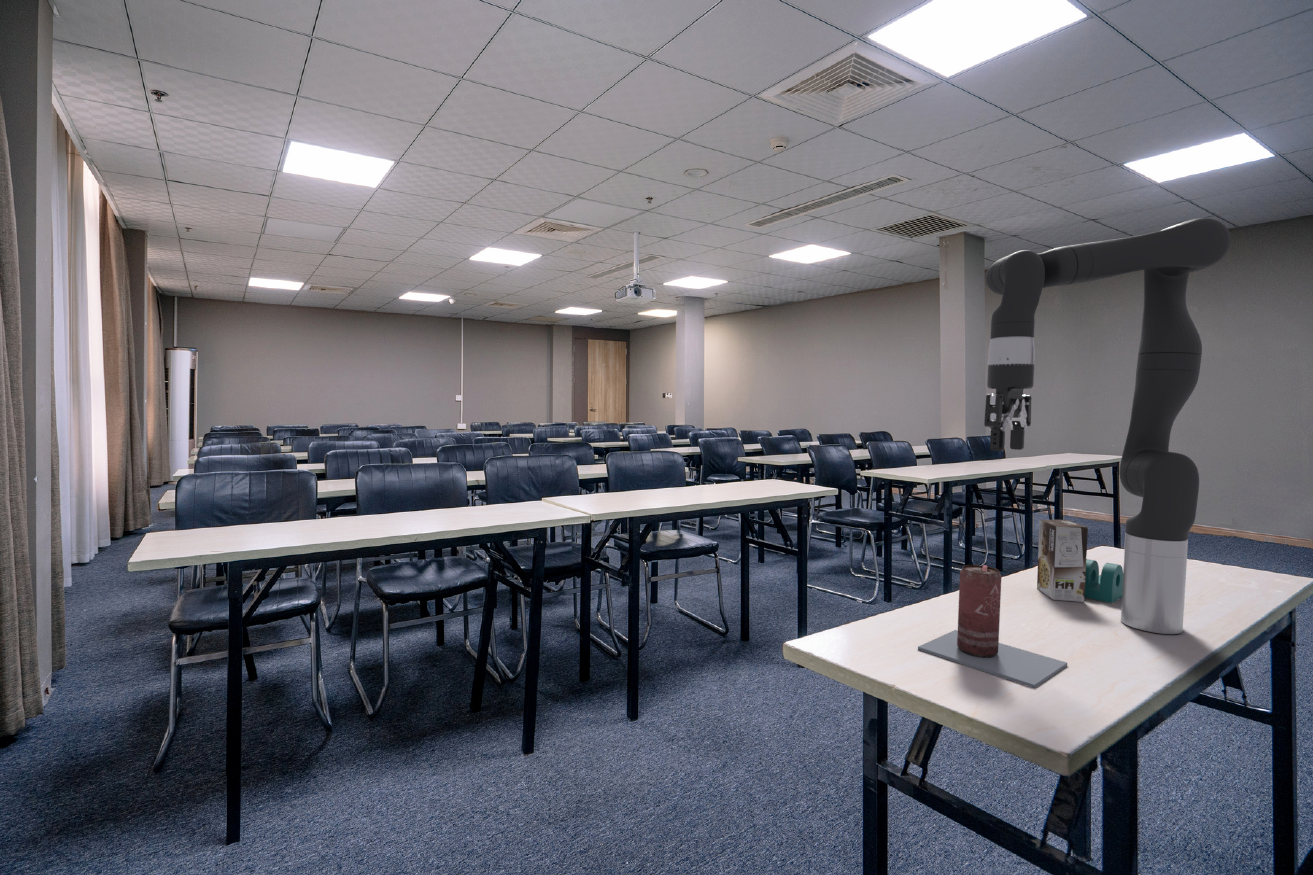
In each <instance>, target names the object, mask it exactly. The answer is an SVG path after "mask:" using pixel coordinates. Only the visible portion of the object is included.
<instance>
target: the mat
mask: <svg viewBox="0 0 1313 875" xmlns="http://www.w3.org/2000/svg"><path fill="white" fill-rule="evenodd" d="M957 635H958V629H954V630H951V631H950V632H947V633H945V634H943V635H940V636H938V637H936V638H934V639H932V640H930V641H927V642H925V643H923V644H921V645H919V646H917V650H919V651H922V652H924V653H926V654H930V655H933V656H936V657H939V658H942V659H945V660H947V661H951V662H953V663H957V664H961V665H964V666H965V667H966V666H967V667H970V668H972V669H975V670H978V671H981V672H984V673H987V674H990V675H993V676H997V677H999V678H1003V679H1005V680H1008V681H1012V682H1015V683H1017V684H1021V685H1024V686H1027V687H1029V688H1032V689H1035V688H1037V687H1039V686H1040V685H1042V684H1043V683H1044V682H1046V681H1047V680H1049V679H1051V678H1052V677H1053V676H1054V675H1056V674H1057V673H1059V672H1060V671H1062V670H1063V669H1065V668H1066V667H1067V666H1068V662H1066V661H1063V660H1060V659H1056V658H1053V657H1050V656H1045V655H1042V654H1038V653H1036V652H1032V651H1029V650H1026V649H1021V648H1018V647H1015V646H1011V645H1007V644H1004V643H1001V642H999V645H998V653H997V655H996V656H994V657H991V658H980V657H974V656H971V655H968V654H965V653H963V652H962V651H960V649H959V648H958V646H957Z"/></svg>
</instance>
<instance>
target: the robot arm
mask: <svg viewBox="0 0 1313 875" xmlns="http://www.w3.org/2000/svg"><path fill="white" fill-rule="evenodd" d="M1231 242H1232V238H1231V233H1230V231H1229V229H1228V227H1227V226H1226V225H1225V224H1224V223H1223V222H1221V221H1219V220H1217V219H1213V218H1209V217H1199V218H1192V219H1189V220H1185V221H1183V222H1180V223H1177V224H1174V225H1172V226H1169V227H1165V228H1163V229H1162V230H1157V231H1155V232H1149V233H1146V234H1139V235H1134V236H1128V237H1122V238H1116V239H1115V238H1114V239H1106V240H1099V241H1093V242H1091V241H1090V242H1085V243H1078V244H1071V245H1065V246H1060V247H1055V248H1053V249H1052V248H1051V249H1049V250H1046V251H1044V252H1041V253H1037V252H1035V251H1033V250H1030V249H1029V250H1028V249H1024V250H1018V251H1016V252H1013V253H1011V254H1008V255H1007V256H1004V257H1001V258H1000V259H997V260H996V261H995V262H994V263H993V264H992V265H990V266H989V268H988V270H987V271H986V274H985V282H986V286H987V287H988V289H989V290H990V291H992V292H993V293H994V294H996V295H1000V296H1001V297H1002V298H1001V302H1000V304H999V305H998V307H996V308H995V309H994V311H993V312H992V313H991V321H990V337H989V338H990V342H989V347H988V354H987V355H988V356H987V357H988V358H987V381H986V382H987V383H986V385H987V386H986V387H987V388H988V389H991V390H995V393H987V394H986V396H985V407H984V408H985V410H984V422H983V423H984V427H987V428H988V429H989V431H990V443H989V448H990V449H989V450H990V451H992V452H1004V450H1005V445H1006V444H1005V443H1006V441H1005V440H1006V431H1005V430H1006V427H1007V425H1008V423H1009V425H1010V435H1009V436H1010V437H1009V438H1010V439H1009V448H1010V449H1011V450H1015V451H1016V450H1019V451H1021V450H1024V448H1025V431H1026V430H1027V428H1028V427H1031V424H1032V421H1031V420H1032V395H1030V394H1024V390H1030V389H1032V388H1033V387H1034V383H1035V382H1034V381H1035V380H1034V379H1035V376H1034V375H1035V360H1036V359H1035V356H1036V349H1035V339H1034V338H1035V314H1036V311H1037V308H1038V305H1039V303H1040V298H1041V295H1042V291H1043V289H1045V288H1051V287H1063V286H1069V285H1077V284H1083V283H1089V282H1095V281H1099V280H1103V279H1107V278H1108V279H1109V278H1112V277H1117V276H1121V275H1125V274H1129V273H1133V272H1138V271H1143V308H1142V309H1143V310H1142V311H1143V312H1142V319H1141V329H1140V330H1141V331H1140V341H1139V347H1138V353H1137V361H1136V371H1135V383H1134V392H1133V398H1132V405H1131V406H1132V407H1131V412H1130V413H1131V414H1130V421H1129V427H1128V431H1127V434H1126V437H1125V438H1126V439H1125V444H1124V447H1123V451H1122V456H1121V459H1120V463H1119V480H1120V482H1121V485H1122V487H1123V488H1124V489H1125V490H1126V492H1128V493H1129V494H1131V495H1133V496H1136V497H1140V498H1142V502H1141V509H1140V511H1139V513H1138V514H1137V515H1134V516H1130V517H1128V519H1126V521H1125V531H1124V532H1125V533H1124V535H1125V536H1124V549H1123V550H1124V553H1123V568H1122V569H1123V588H1122V598H1121V608H1120V610H1121V612H1120V622H1122V623H1123V624H1125V625H1126V626H1128V627H1130V628H1133V629H1137V630H1141V631H1145V632H1149V633H1155V634H1156V633H1157V634H1162V635H1178V634H1181V633H1183V632H1184V631H1183V630H1184V628H1183V627H1184V615H1185V614H1184V613H1185V598H1186V582H1187V581H1186V580H1187V568H1188V566H1187V565H1188V564H1187V563H1188V548H1189V547H1188V545H1189V543H1188V542H1189V532H1190V531H1191V529H1192V527H1193V526H1194V523H1195V521H1196V515H1197V508H1198V507H1197V506H1198V500H1199V492H1200V491H1199V490H1200V473H1199V470H1198V467H1197V464H1196V463H1195V462H1194V461H1193V459H1191V458H1190V457H1189V456H1187V455H1185V454H1183V453H1179V452H1173V451H1169V450H1170V449H1169V448H1170V447H1169V446H1170V440H1171V439H1170V438H1171V433H1172V429H1173V428H1172V427H1173V426H1174V422H1175V420H1176V418H1177V417H1178V415H1179V413H1180V411H1182V409H1183V408H1184V406H1185V404H1186V403H1187V401H1188V400H1189V399H1190V397H1191V395H1192V394H1193V392H1194V391H1195V389H1196V386H1197V384H1198V381H1199V376H1200V371H1201V370H1200V369H1201V362H1202V352H1203V346H1202V345H1203V344H1202V339H1201V335H1200V334H1199V331H1198V329H1197V327H1196V325H1195V323H1194V321H1193V320H1192V317H1191V315H1190V313H1189V311H1188V307H1187V302H1186V301H1187V298H1186V297H1187V296H1186V295H1187V287H1188V286H1187V285H1188V281H1189V277H1190V276H1189V275H1190V273H1191V274H1192V273H1194V272H1198V271H1201V270H1205V269H1207V268H1209V267H1212V266H1214V265H1216V264H1217V263H1218V262H1220V261H1221V260H1222V259H1224V257H1225V256H1226V255H1227V253H1228V252H1229V250H1230V248H1231Z"/></svg>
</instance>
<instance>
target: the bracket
mask: <svg viewBox="0 0 1313 875" xmlns="http://www.w3.org/2000/svg"><path fill="white" fill-rule="evenodd" d="M1099 566H1100V565H1099V563H1098V561H1097V560H1095V559H1089V558H1086V574H1085V594H1084V599H1085V598H1086V599H1090V600H1095V601H1100V602H1105V603H1108V604H1109V603H1110V604H1113V603H1115V602H1116V601H1119V600H1120V599H1122V588H1123V569H1124V568H1123V567H1122V565H1121V564H1117V563H1112V562H1111V563H1110V562H1106V563H1105V564H1104V565H1103V566H1102V569H1101V572H1100V567H1099ZM1118 599H1119V600H1118Z"/></svg>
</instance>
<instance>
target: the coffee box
mask: <svg viewBox="0 0 1313 875" xmlns="http://www.w3.org/2000/svg"><path fill="white" fill-rule="evenodd" d="M1038 522H1039V524H1038V525H1039V526H1038V545H1037V547H1038V548H1037V550H1038V551H1037V552H1038V553H1037V576H1036V579H1037V582H1036V589H1037V590H1039V592H1042V593H1043V594H1044V595H1046V596H1047V597H1048V598H1051V599H1052V600H1053V601H1055V600H1056V601H1064V602H1065V601H1067V602H1077V603H1078V602H1079V603H1084V601H1085V597H1084V594H1085V574H1086V559H1087V555H1088V554H1087V553H1088V552H1087V551H1088V536H1089V535H1088V534H1089V527H1088V526H1086V525H1083V524H1081V523H1078V522H1075V521H1072V520H1070V519H1068V520H1067V519H1038Z"/></svg>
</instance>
